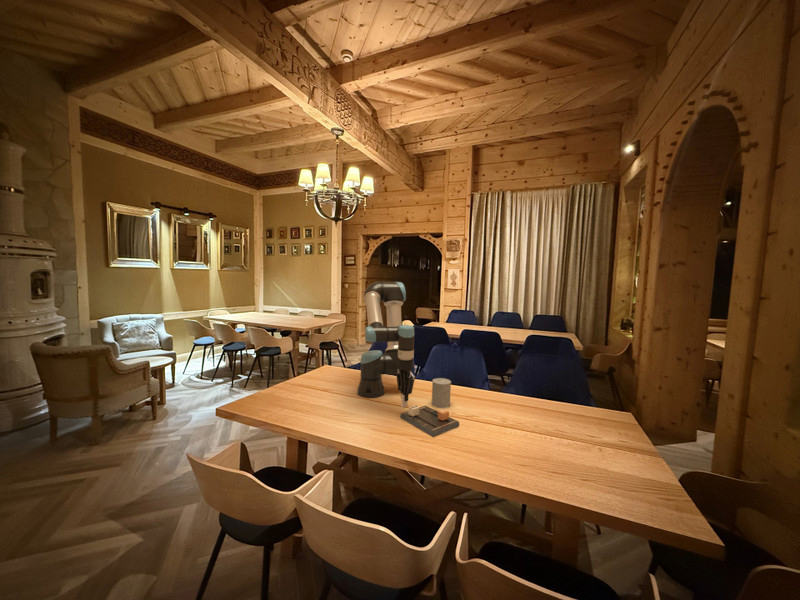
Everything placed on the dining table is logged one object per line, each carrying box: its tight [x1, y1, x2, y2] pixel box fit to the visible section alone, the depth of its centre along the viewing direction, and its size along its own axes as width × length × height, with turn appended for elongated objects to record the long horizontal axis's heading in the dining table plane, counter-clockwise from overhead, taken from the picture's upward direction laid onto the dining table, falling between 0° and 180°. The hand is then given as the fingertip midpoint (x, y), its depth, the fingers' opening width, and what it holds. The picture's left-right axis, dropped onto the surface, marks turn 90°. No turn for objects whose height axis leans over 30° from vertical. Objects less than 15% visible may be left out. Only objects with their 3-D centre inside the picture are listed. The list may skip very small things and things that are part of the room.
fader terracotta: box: [438, 408, 450, 421], centre depth 145 cm, size 3×4×4 cm
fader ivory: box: [407, 405, 419, 416], centre depth 148 cm, size 3×4×4 cm
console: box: [399, 405, 460, 438], centre depth 146 cm, size 22×16×2 cm
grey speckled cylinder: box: [431, 377, 452, 409], centre depth 166 cm, size 10×10×12 cm
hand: (404, 406), depth 154 cm, fingers closed
